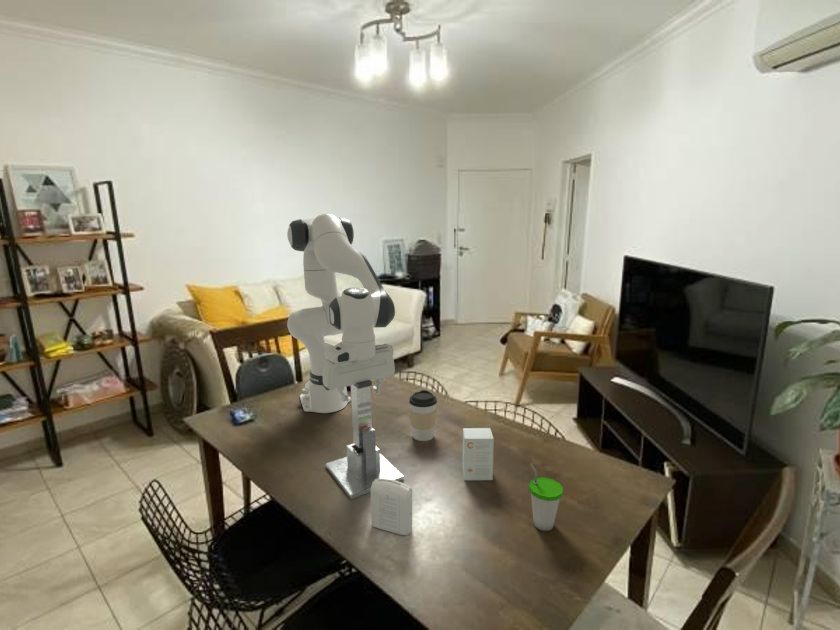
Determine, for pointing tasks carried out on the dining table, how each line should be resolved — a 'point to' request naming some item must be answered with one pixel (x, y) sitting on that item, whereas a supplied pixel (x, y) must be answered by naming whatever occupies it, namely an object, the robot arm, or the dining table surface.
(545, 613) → the dining table surface
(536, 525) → the cup
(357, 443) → the column
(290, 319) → the robot arm
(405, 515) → the photo printer
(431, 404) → the coffee cup
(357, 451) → the stand base
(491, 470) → the small box
